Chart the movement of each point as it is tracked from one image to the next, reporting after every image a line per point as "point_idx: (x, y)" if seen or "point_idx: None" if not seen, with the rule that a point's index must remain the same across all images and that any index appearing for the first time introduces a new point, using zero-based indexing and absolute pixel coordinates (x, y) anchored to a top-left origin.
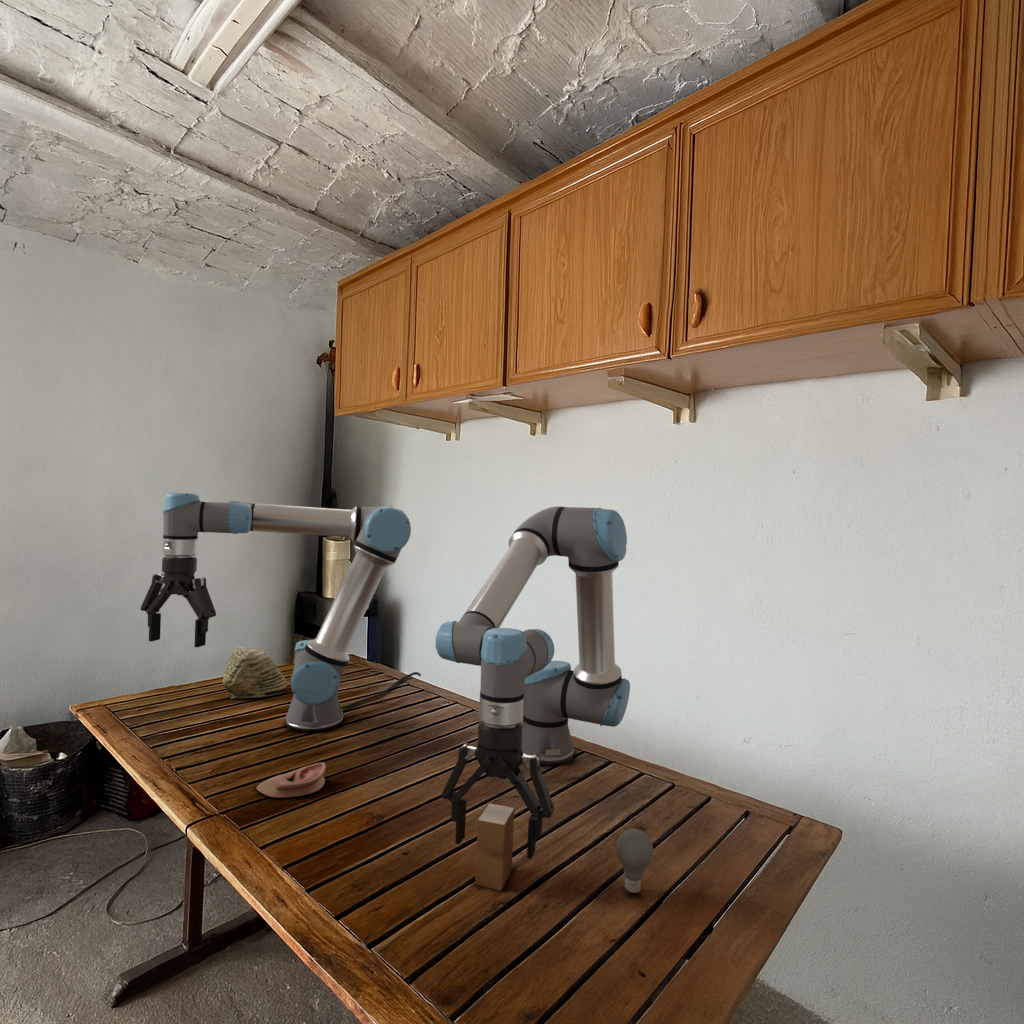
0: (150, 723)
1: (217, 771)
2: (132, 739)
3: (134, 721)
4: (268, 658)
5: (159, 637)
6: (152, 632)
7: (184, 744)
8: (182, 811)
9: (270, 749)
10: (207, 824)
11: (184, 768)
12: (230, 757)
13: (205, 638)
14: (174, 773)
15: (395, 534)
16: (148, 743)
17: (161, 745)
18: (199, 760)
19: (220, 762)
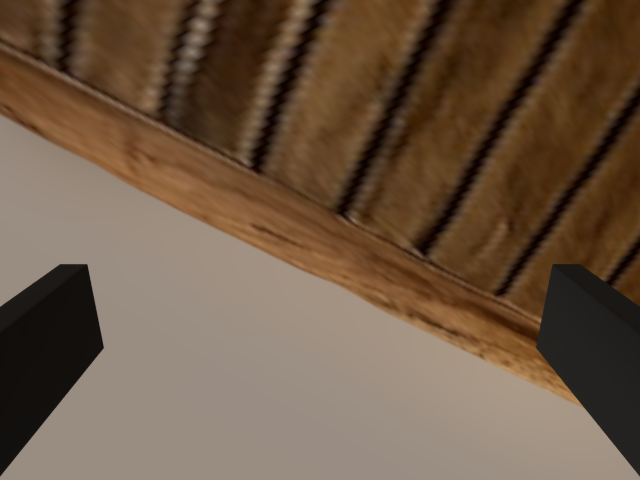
0: (72, 4)
1: (524, 225)
2: (154, 142)
3: (8, 11)
4: None
5: (80, 280)
6: (61, 387)
7: (321, 114)
8: (561, 384)
9: (592, 44)
10: None
11: (435, 240)
12: (506, 142)
13: (617, 294)
14: (432, 269)
15: None
16: (221, 148)
17: (266, 146)
18: (438, 189)
19: (499, 179)
